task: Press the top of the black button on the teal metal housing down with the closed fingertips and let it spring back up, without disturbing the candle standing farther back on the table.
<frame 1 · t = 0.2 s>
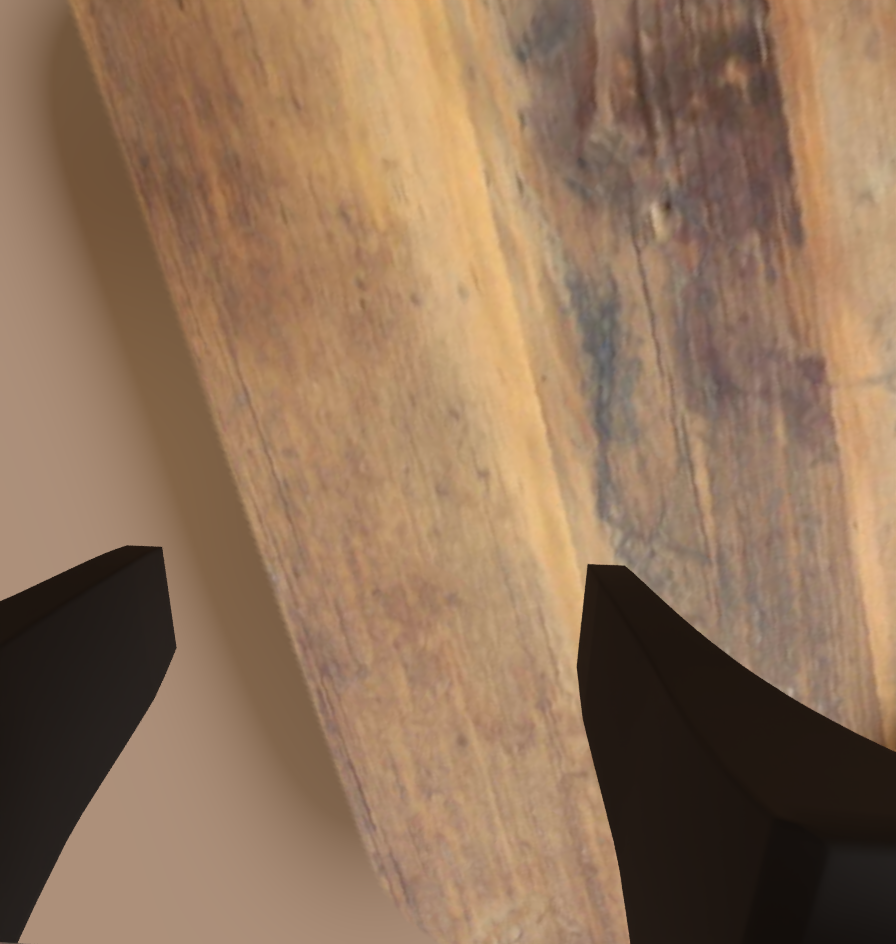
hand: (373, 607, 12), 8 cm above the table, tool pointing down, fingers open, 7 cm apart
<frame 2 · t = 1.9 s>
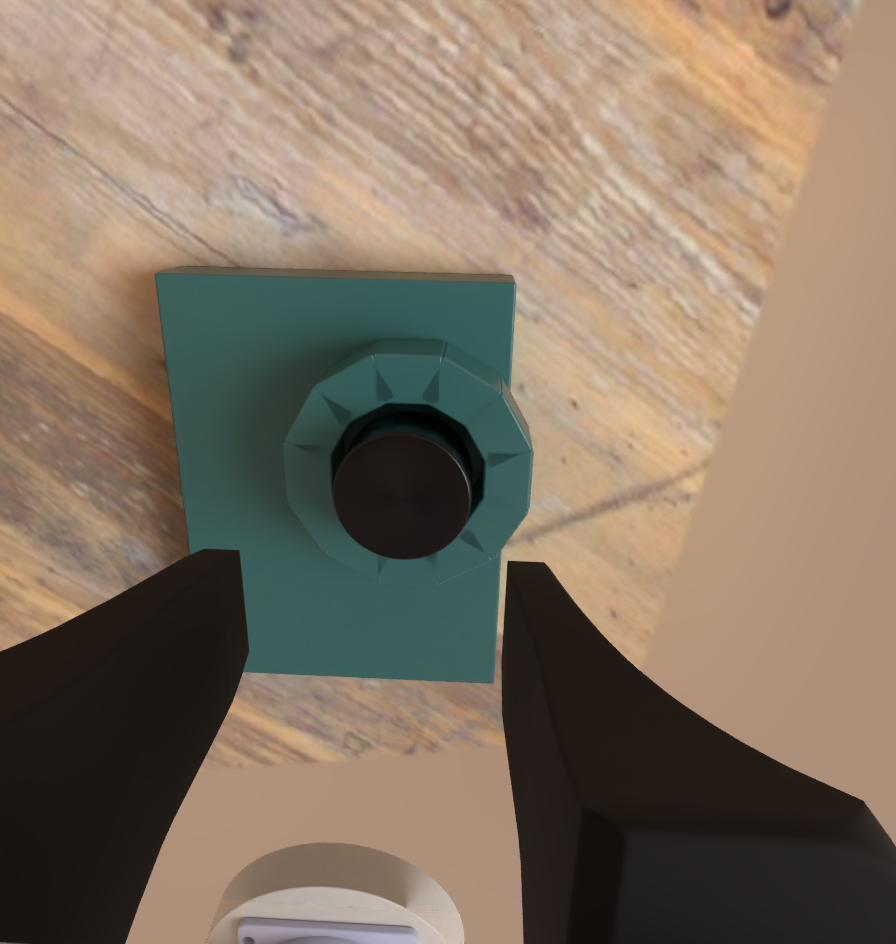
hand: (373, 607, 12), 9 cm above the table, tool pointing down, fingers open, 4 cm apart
housing: (351, 477, 21), on the table
button: (405, 484, 17), point 4 cm above the table, slide at 0.1 cm
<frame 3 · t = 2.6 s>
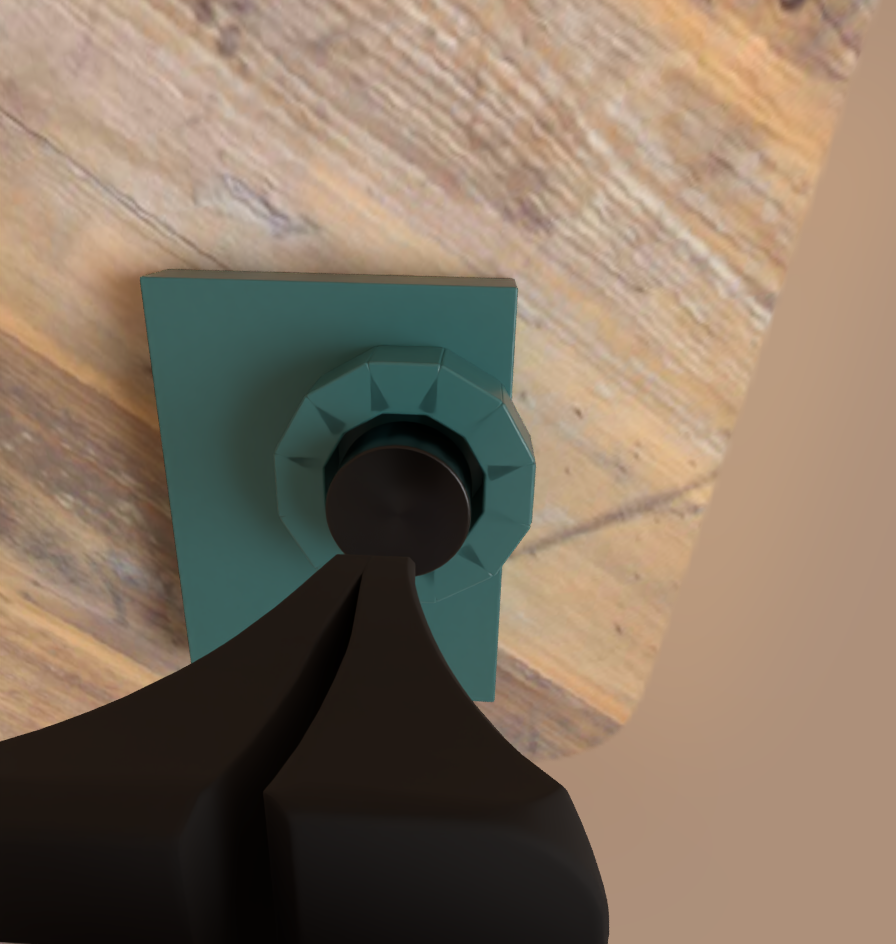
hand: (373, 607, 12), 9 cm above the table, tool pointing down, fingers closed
housing: (346, 488, 21), on the table
button: (401, 498, 16), point 4 cm above the table, slide at 0.1 cm
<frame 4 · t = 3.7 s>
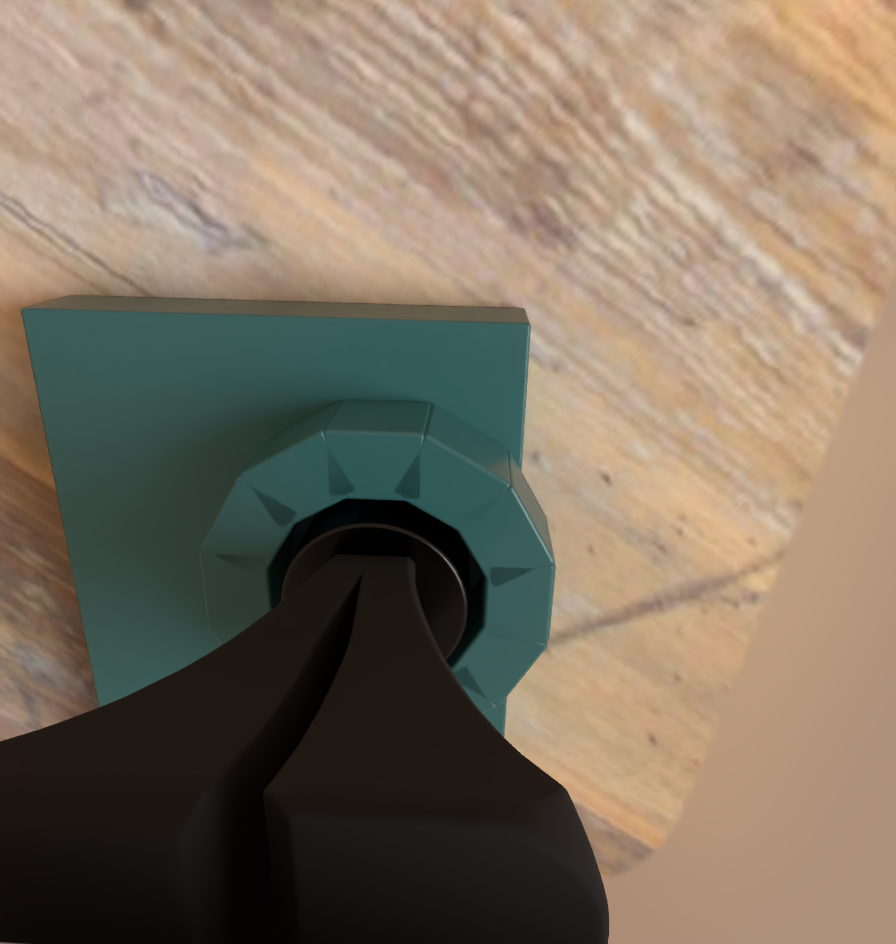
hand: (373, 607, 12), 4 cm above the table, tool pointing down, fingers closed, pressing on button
housing: (310, 569, 16), on the table
button: (380, 582, 13), point 3 cm above the table, slide at -0.9 cm, touching gripper
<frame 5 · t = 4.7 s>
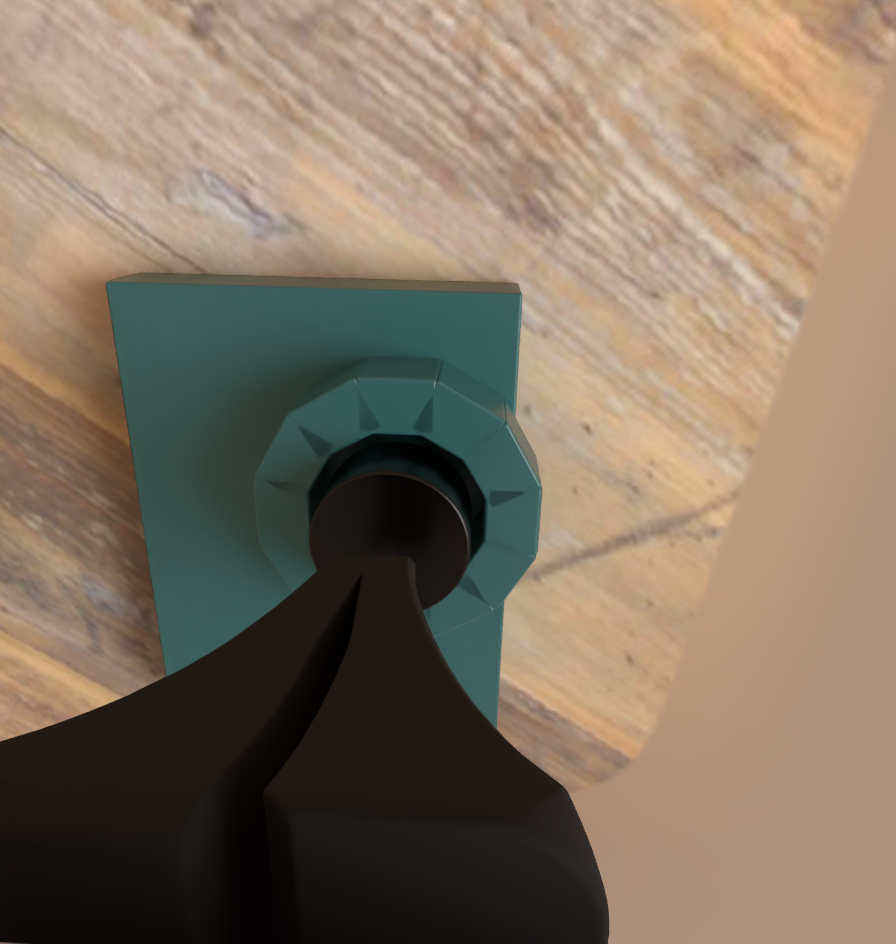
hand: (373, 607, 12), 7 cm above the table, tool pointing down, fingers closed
housing: (336, 508, 19), on the table
button: (394, 527, 15), point 4 cm above the table, slide at 0.1 cm
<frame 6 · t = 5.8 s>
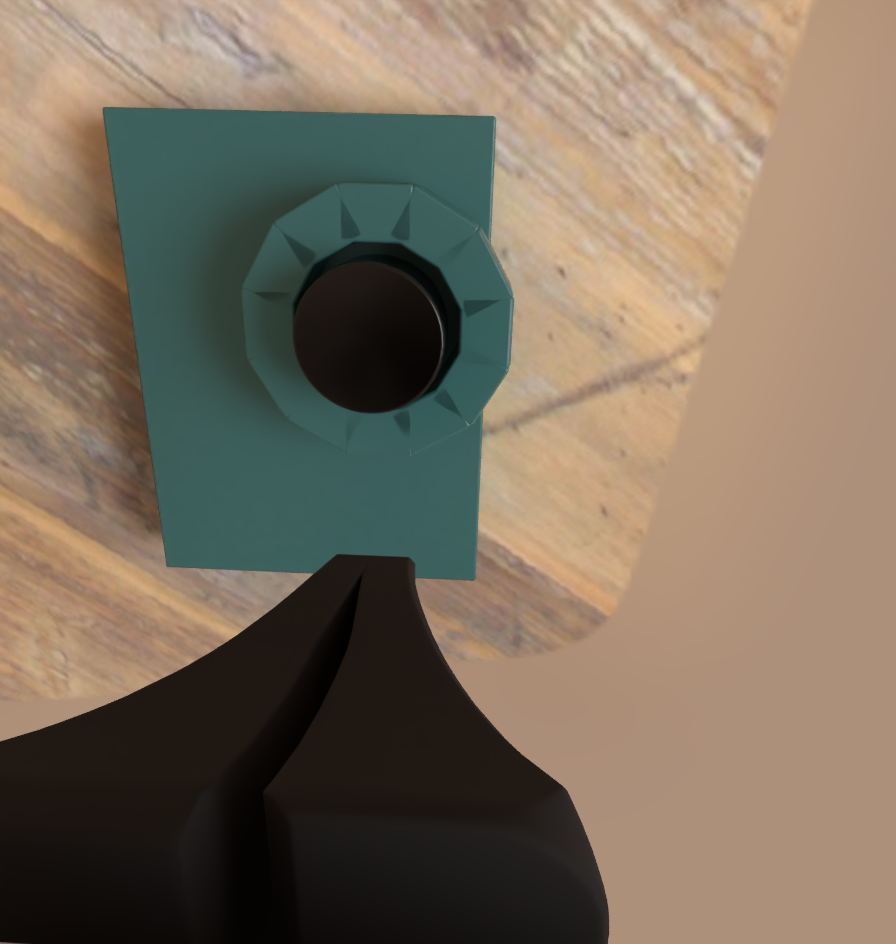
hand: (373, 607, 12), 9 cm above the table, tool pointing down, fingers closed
housing: (323, 356, 20), on the table
button: (373, 333, 16), point 4 cm above the table, slide at 0.1 cm
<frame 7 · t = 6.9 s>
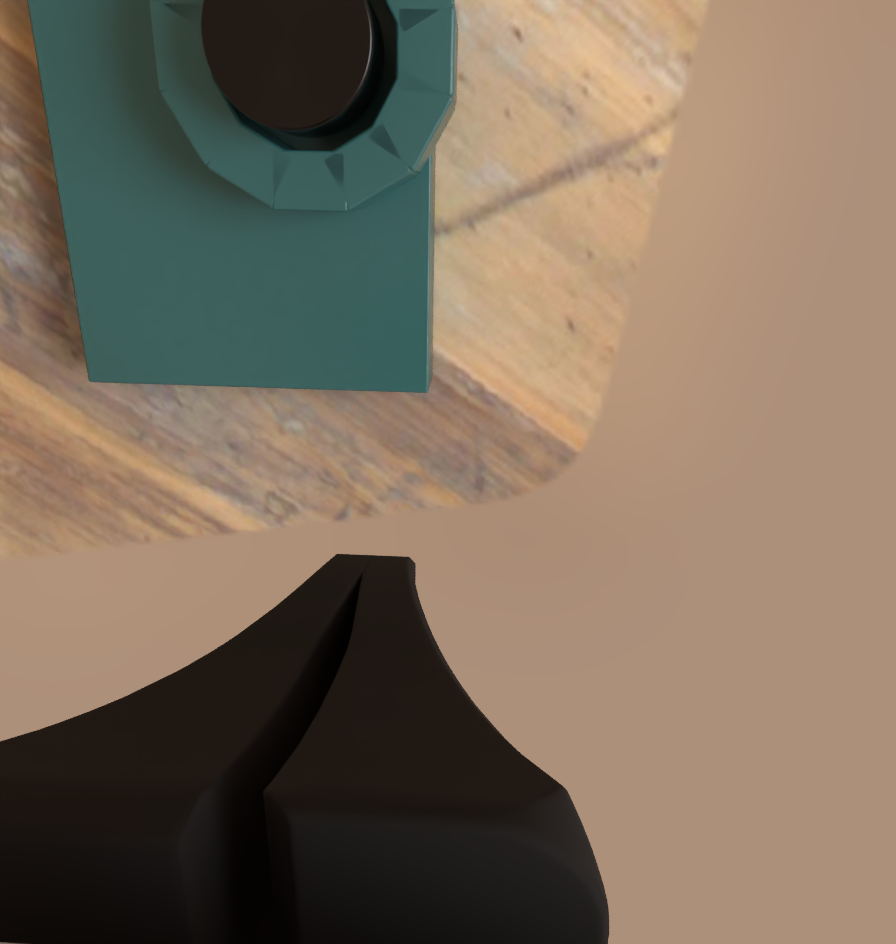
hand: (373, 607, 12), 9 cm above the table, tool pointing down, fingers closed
housing: (258, 141, 18), on the table
button: (297, 44, 14), point 4 cm above the table, slide at 0.1 cm
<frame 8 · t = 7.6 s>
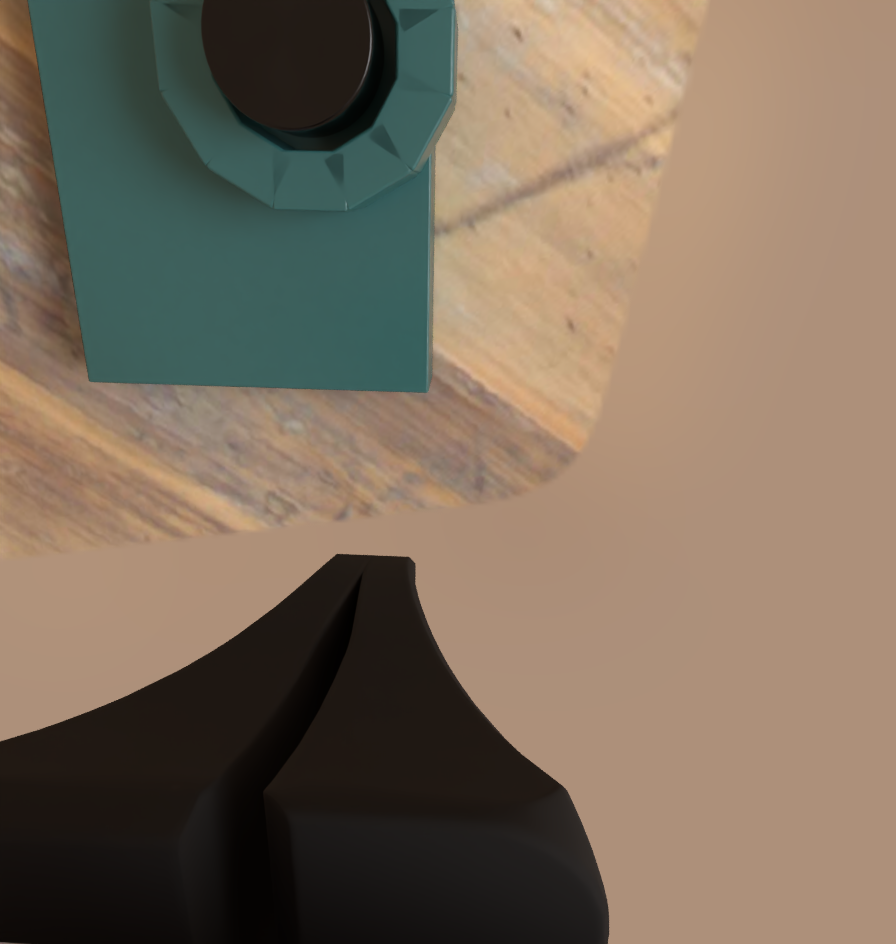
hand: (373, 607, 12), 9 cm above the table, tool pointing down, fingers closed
housing: (258, 141, 18), on the table
button: (297, 44, 14), point 4 cm above the table, slide at 0.1 cm
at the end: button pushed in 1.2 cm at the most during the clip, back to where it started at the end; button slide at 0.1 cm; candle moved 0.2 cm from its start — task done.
